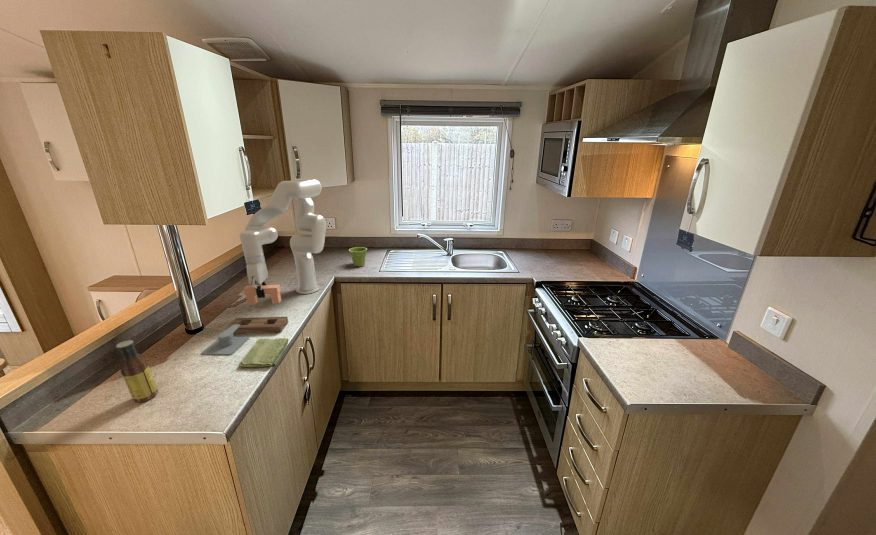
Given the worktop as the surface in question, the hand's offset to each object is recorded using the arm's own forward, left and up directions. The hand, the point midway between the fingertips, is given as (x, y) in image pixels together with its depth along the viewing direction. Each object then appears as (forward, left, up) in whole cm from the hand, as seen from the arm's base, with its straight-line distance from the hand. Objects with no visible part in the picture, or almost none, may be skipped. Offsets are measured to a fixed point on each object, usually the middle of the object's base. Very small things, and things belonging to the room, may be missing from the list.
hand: (263, 295), depth 155 cm
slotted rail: (+13, +2, -10) cm, 16 cm away
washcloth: (+34, +13, -11) cm, 38 cm away
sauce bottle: (+55, -15, -10) cm, 58 cm away
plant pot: (-69, +33, -10) cm, 77 cm away
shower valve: (+25, -5, -11) cm, 28 cm away
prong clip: (0, 0, -4) cm, 4 cm away
